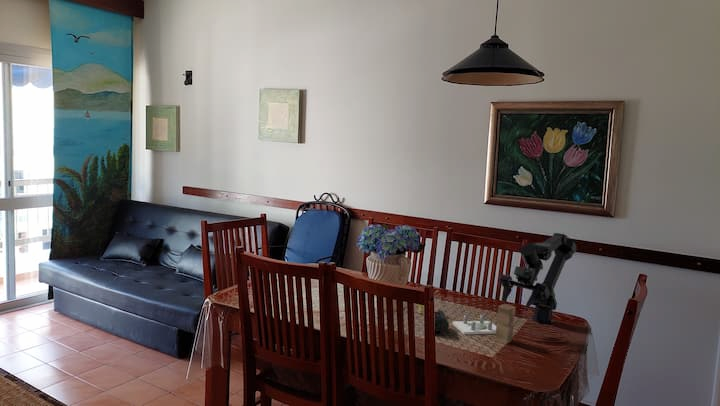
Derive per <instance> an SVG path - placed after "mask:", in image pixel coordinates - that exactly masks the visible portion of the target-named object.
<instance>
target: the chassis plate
mask: <svg viewBox="0 0 720 406" xmlns="http://www.w3.org/2000/svg"><path fill="white" fill-rule="evenodd" d="M468 318H469V317H468V315H467V314H464V315H463V320H462V321H460V320H459V321H452V325H453V326H454V327H455V328H456V329H457V330H458V331H460V333H462V335H496V324H495V323H493V321H491V320H485V315H483V314H480V316H479V320H470V321H469V320H468Z"/></svg>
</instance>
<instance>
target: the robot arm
mask: <svg viewBox="0 0 720 406" xmlns="http://www.w3.org/2000/svg"><path fill="white" fill-rule="evenodd" d="M552 252H554V257H553V259H552V261H551V264H550V266H549V268H548V271H547V272H546V275H545V278H544V279H543V282H537V281H538V276H539V273H540V271H541V270H543V269H544V264H543V261H545V262H547V261H549V259H551V257H552V255H553V253H552ZM576 252H577V244H576V243H575V241H574V240H573V239H571V238H570V237H568V235H566V234H565V233H559V232H554V233H553V234H552V236H550V237H549V238H547V239H546V240H545V241H543V242H536V243H534V242H530V241H529V242H528V243H527V244H524V245H522V246H521V247H520V248H519V253H520V255H521V258H522V260H523V262H524V263H525V266H524V267H521V266H519V265H518V266H517V265H516V266H515V268H514V271H513V275H515V279H516V280H514V279H513V277H512V276H511V275H508V274H500V276H499V277H498V280H499V282H500V284H501V287H503V296H502V299H503V302H506V300H507V299H508V297H509V296H510V294H511V293H512V291H513V288H514V287H518V288H523V289H526V290H530V291H532V292H531V294H530V296H529V298H528V300H527V302H526V304H525V308H527V309H528V308H529V307H531V306H535V307H534V310H533V316H531V319H532V320H534V321H535V322H537V323H539V324H554V321H553V320H552V318H553V310H554V311H556V310H557V305H558V302H557V300H556V293H555V287H556V285H557V282H558V279H559V277H560V275H561V273H562V270H563V268H564V267H565V264H566V262H567V261H568V260H570V259H572V258H573V256H574V254H575V253H576ZM535 282H536V283H535Z"/></svg>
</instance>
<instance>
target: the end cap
mask: <svg viewBox="0 0 720 406" xmlns="http://www.w3.org/2000/svg"><path fill="white" fill-rule="evenodd" d="M433 312H434V313H435V334H436V335H435V336H442V335H443V334H446V333H447V332H448V330H449V327H450V324H449V321H448V319H447V316H446V313H445V312H444V311H442V310H440V309H438V310H437V311H433Z"/></svg>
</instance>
